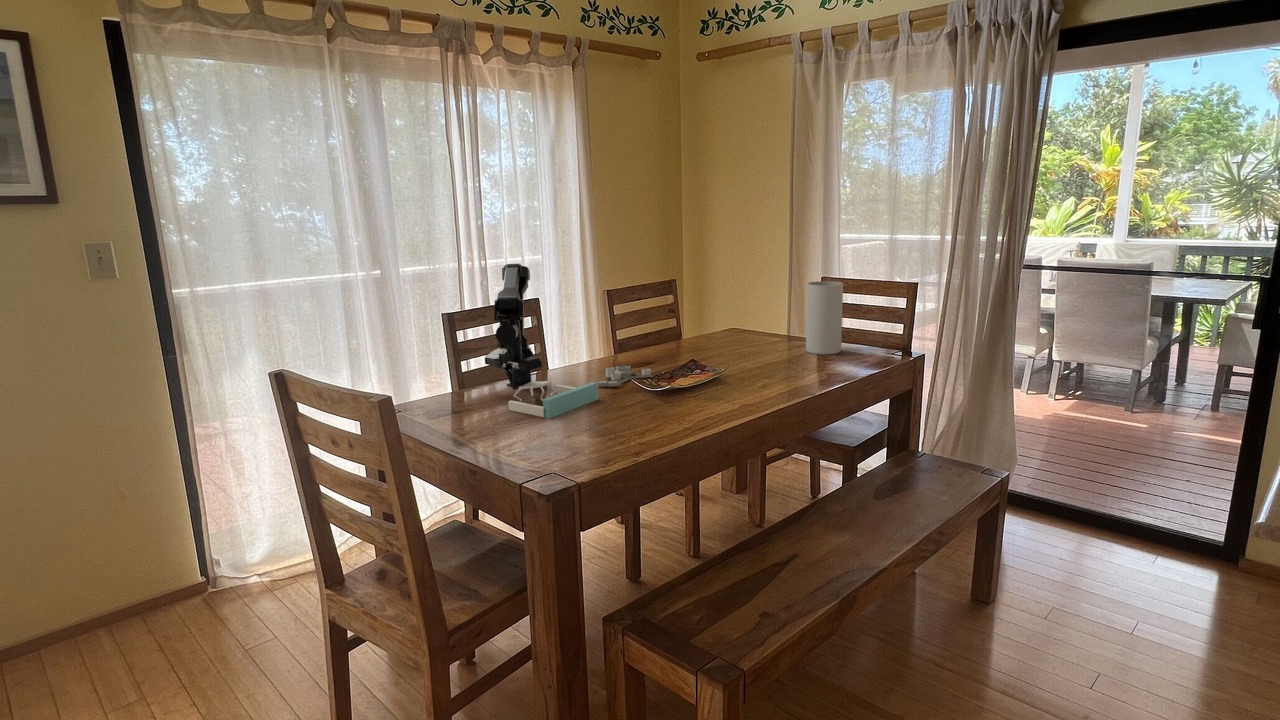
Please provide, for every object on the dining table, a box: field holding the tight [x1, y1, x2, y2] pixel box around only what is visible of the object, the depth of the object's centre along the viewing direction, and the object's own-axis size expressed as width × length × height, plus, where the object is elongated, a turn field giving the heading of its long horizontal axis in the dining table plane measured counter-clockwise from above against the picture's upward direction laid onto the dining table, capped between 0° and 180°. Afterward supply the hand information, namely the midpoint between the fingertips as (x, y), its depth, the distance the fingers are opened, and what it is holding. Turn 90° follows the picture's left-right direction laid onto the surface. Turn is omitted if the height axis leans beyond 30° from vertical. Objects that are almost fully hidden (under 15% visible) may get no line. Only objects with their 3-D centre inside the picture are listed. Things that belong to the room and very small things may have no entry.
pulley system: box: [596, 365, 665, 388], centre depth 229 cm, size 27×5×15 cm
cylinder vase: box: [805, 280, 844, 356], centre depth 257 cm, size 12×12×25 cm
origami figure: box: [512, 380, 556, 402], centre depth 209 cm, size 12×8×5 cm
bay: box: [508, 381, 599, 419], centre depth 203 cm, size 16×21×5 cm
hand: (514, 389), depth 212 cm, fingers closed
